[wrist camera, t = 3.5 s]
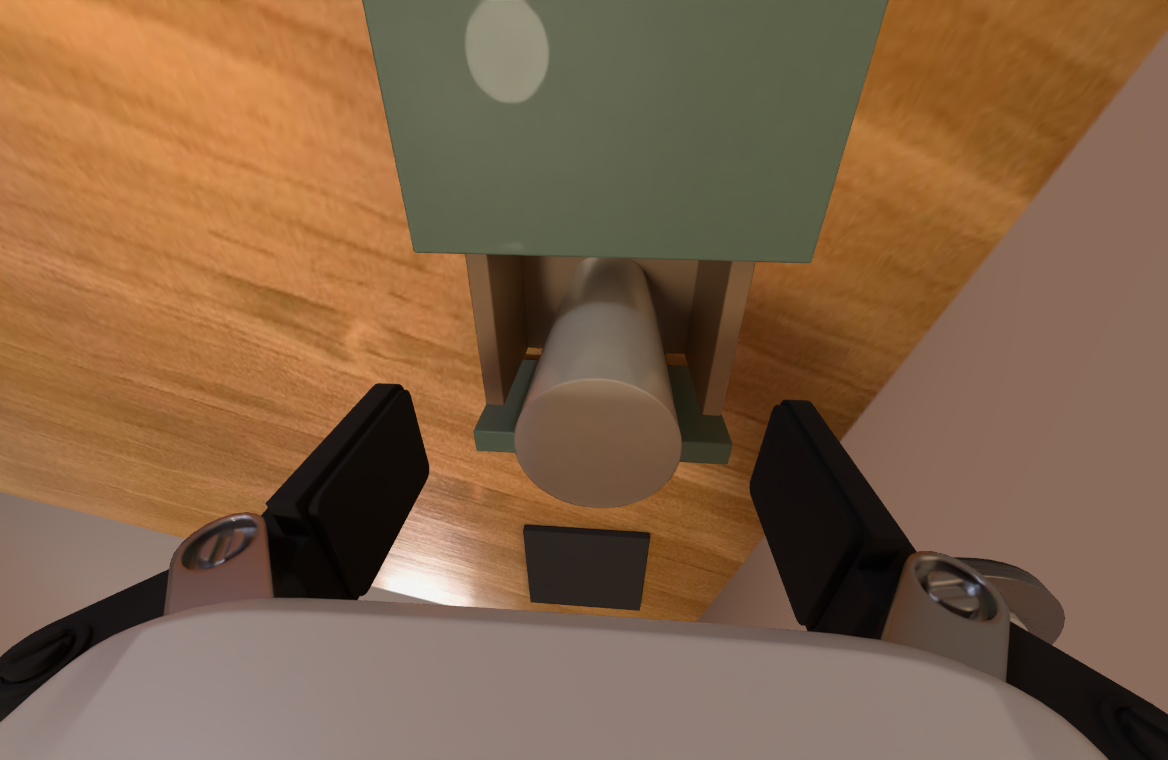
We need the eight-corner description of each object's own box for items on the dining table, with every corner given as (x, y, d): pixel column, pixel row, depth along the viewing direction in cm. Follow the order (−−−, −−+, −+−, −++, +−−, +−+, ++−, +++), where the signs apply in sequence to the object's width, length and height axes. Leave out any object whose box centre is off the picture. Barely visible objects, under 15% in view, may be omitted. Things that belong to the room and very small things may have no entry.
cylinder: (656, 254, 19) (694, 383, 9) (647, 339, 22) (671, 513, 12) (563, 251, 19) (506, 374, 10) (564, 336, 22) (519, 503, 12)
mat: (649, 532, 32) (649, 539, 32) (639, 604, 38) (639, 611, 37) (524, 524, 33) (522, 530, 32) (531, 596, 38) (530, 602, 38)
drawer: (691, 440, 26) (711, 528, 20) (515, 430, 27) (486, 513, 21) (753, 107, 17) (822, 95, 11) (482, 106, 18) (415, 94, 12)
